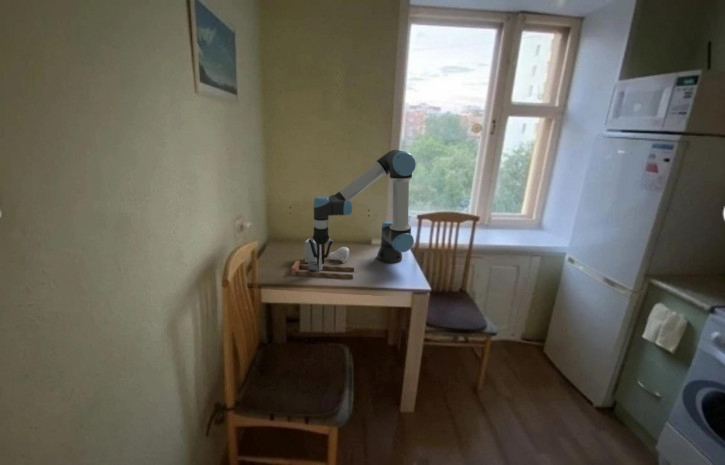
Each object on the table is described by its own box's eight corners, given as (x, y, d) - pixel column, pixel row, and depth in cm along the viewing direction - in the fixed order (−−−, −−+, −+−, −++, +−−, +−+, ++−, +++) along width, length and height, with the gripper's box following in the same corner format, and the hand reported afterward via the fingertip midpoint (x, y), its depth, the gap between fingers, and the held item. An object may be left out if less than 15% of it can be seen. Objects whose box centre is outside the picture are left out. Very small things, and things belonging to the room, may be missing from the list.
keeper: (320, 270, 184) (320, 261, 183) (318, 274, 179) (318, 266, 177) (309, 269, 185) (309, 261, 183) (307, 274, 179) (307, 265, 177)
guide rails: (354, 270, 186) (354, 267, 185) (352, 278, 176) (352, 275, 175) (299, 267, 187) (299, 264, 186) (295, 275, 177) (295, 271, 176)
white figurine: (347, 249, 193) (327, 248, 195) (348, 263, 195) (328, 262, 198) (349, 245, 199) (330, 245, 201) (350, 259, 201) (331, 258, 204)
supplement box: (316, 263, 193) (316, 242, 189) (304, 262, 194) (304, 241, 191) (320, 259, 200) (320, 239, 196) (308, 257, 201) (308, 237, 197)
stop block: (299, 267, 187) (299, 260, 186) (295, 275, 177) (295, 268, 176) (296, 267, 187) (296, 260, 186) (291, 275, 177) (291, 267, 176)
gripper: (334, 225, 177) (333, 267, 184) (309, 224, 178) (309, 265, 185) (332, 229, 170) (331, 272, 177) (306, 228, 171) (307, 271, 177)
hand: (320, 269), depth 181 cm, fingers closed
